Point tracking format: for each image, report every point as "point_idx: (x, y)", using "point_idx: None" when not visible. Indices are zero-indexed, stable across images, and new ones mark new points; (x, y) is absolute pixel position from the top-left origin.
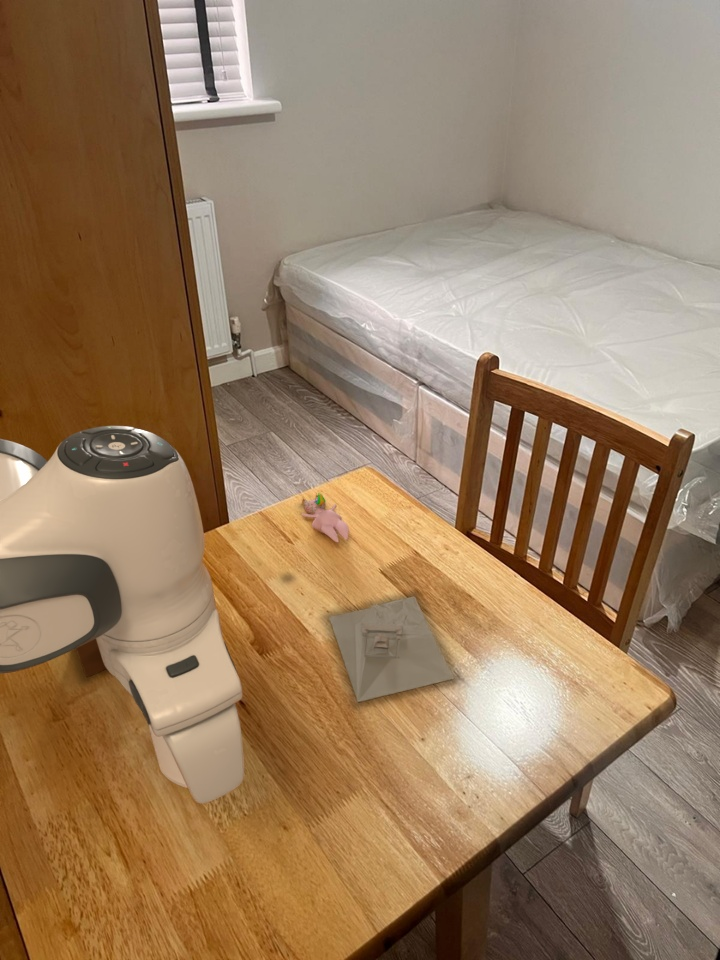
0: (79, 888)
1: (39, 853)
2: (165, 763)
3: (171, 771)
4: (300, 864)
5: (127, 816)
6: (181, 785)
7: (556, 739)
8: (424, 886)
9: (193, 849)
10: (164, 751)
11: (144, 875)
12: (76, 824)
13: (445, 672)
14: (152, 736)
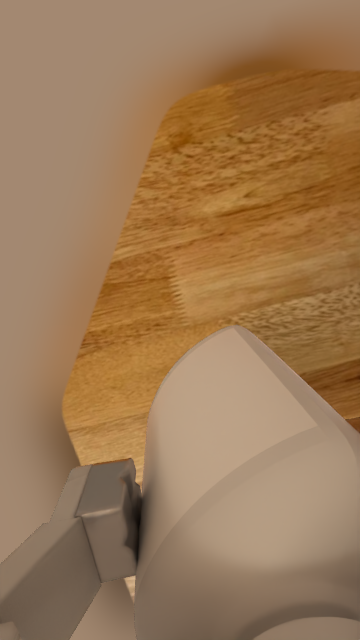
0: (220, 156)
1: (284, 110)
2: (212, 363)
3: (196, 364)
4: (153, 386)
5: (283, 222)
6: (178, 361)
7: None
8: None
9: (212, 288)
10: (215, 399)
11: (205, 231)
12: (301, 160)
13: None
14: (275, 392)
